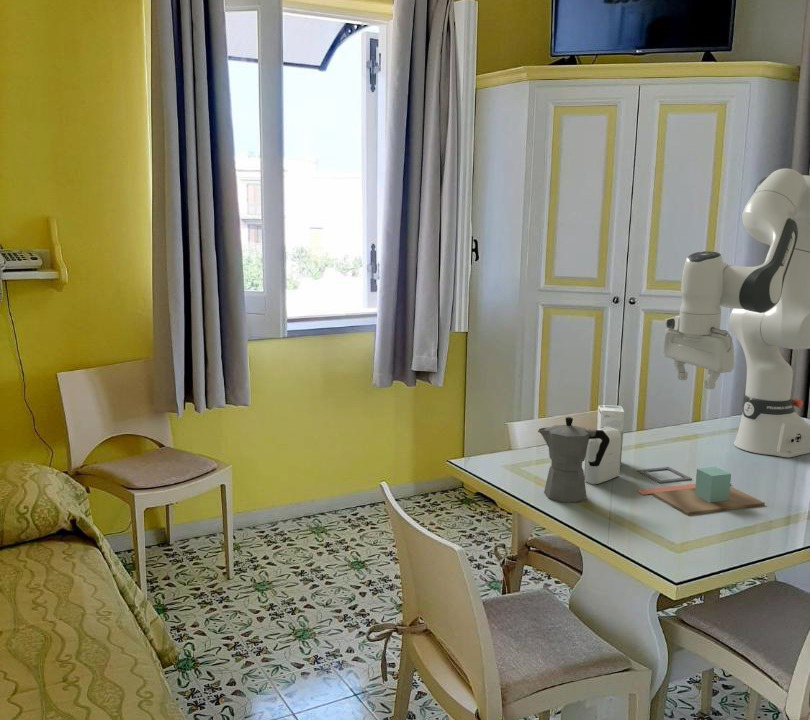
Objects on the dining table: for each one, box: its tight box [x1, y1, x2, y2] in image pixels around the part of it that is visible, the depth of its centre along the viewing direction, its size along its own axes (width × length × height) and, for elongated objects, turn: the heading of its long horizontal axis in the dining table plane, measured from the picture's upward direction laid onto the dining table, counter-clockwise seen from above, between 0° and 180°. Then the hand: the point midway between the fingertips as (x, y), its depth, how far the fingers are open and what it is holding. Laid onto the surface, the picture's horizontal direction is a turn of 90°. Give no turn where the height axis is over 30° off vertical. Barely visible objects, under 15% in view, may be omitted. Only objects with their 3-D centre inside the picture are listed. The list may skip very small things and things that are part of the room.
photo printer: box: [583, 427, 622, 485], centre depth 188 cm, size 10×4×12 cm, turn 132°
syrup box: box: [596, 404, 626, 467], centre depth 199 cm, size 6×6×14 cm
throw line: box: [636, 482, 732, 496], centre depth 183 cm, size 24×2×1 cm, turn 108°
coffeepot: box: [537, 416, 610, 504], centre depth 176 cm, size 15×9×18 cm, turn 75°
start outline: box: [636, 466, 693, 484], centre depth 192 cm, size 9×9×1 cm
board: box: [652, 485, 766, 516], centre depth 176 cm, size 20×12×1 cm, turn 108°
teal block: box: [695, 466, 732, 502], centre depth 176 cm, size 5×5×6 cm
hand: (695, 384), depth 183 cm, fingers open, 8 cm apart
